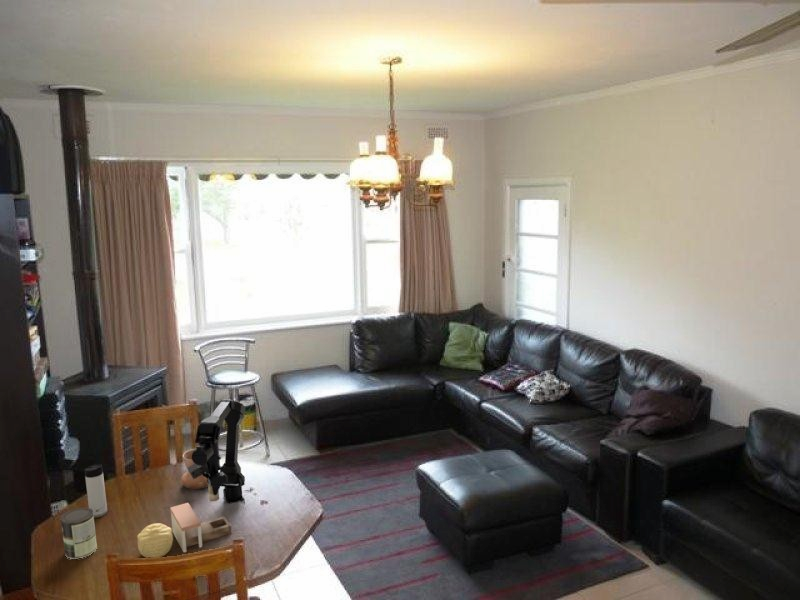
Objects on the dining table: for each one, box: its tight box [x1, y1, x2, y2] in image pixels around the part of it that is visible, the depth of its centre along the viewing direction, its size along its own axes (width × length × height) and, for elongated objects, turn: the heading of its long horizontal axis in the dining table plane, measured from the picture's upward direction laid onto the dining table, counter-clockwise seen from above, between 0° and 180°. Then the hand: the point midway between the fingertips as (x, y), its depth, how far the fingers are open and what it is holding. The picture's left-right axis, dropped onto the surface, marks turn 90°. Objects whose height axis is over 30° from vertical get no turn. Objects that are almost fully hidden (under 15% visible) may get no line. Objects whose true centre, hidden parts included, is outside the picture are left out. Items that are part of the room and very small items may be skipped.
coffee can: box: [60, 507, 98, 560], centre depth 224 cm, size 10×10×14 cm
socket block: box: [185, 515, 233, 548], centre depth 234 cm, size 16×8×3 cm, turn 122°
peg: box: [207, 483, 220, 502], centre depth 240 cm, size 4×4×8 cm
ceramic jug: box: [181, 448, 208, 490], centre depth 273 cm, size 18×14×14 cm
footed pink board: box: [169, 502, 203, 553], centre depth 231 cm, size 6×17×10 cm, turn 32°
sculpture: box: [136, 522, 174, 559], centre depth 222 cm, size 11×12×11 cm
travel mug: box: [84, 463, 108, 518], centre depth 249 cm, size 6×7×20 cm
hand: (213, 492), depth 240 cm, fingers closed on peg, 4 cm apart
